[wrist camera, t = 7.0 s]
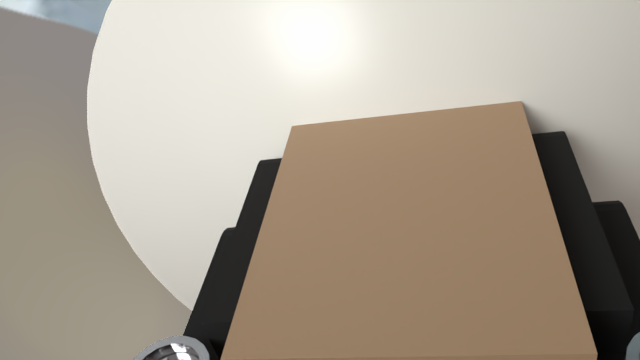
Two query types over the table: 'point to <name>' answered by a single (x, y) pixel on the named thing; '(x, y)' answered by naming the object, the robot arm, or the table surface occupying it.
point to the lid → (369, 163)
